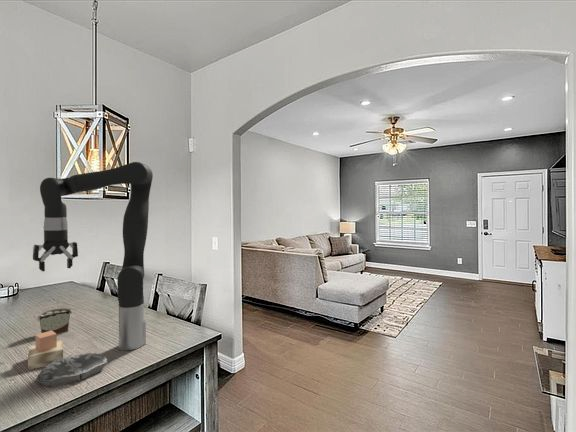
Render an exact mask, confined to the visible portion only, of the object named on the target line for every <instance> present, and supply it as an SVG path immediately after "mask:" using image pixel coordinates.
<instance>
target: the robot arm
mask: <svg viewBox="0 0 576 432" xmlns="http://www.w3.org/2000/svg"><path fill="white" fill-rule="evenodd" d="M153 177H154V175H153V171H152V169H151V168H150V166H149V165H146V163H145V164H144V163H143V162H140V161H133V162H130V163H127V164H124V165H121V166H117V167H114V168H110V169H105V170H99V171H92V172H85V173H79V174H74V175H70V177H64V178H56V177H47V178H44V179H43V180H42V181H41V183H40V185H39V192H40V196H41V200H42V204H43V207H44V212H43V213H44V221H43V244H34V245H33V247H32V260H33V261H35V262H38V269H39V270H40V271H41V272H42V273H43V272H45V270H46V269H45V268H46V267H45V266H46V264H45V263H46V259H47V258H48V257H50V256H55V255H62V254H63V255H65V256H66V257H67V258H66V268H67V269H71V267H73V260H74V259H75V258H78V256H79V251H78V243H77V242H76V241H72V242H69V241H68V238H69V237H68V233H69V232H68V227H69V226H68V218H67V217H68V216H67V215H68V213H67V211H68V210H67V204H65V203H64V202H63V201H62V197H64V196H65V197H66V196H70V195H73V194H76V193H84V192H90V191H91V192H92V191H96V190H99V189H103V188H106V187H110V186H114V185H123V184H124V185H125V184H127V185H128V184H130V196H129V200H128V203H127V206H126V208H125V211H124V215H123V220H122V242H123V247H124V248H123V250H124V253H123V254H124V256H123V260H122V261H123V262H122V267H121V270H120V272H119V273H118V275H117V280H116V281H117V301H118V349H119V350H121V351H133V350H137V349H139V348H141V347H143V346H144V345H146V343H147V339H146V338H147V330H146V329H147V322H146V320H144V319H145V318H144V317H145V309H144V307H145V305H144V303H145V298H144V278H145V264H144V261H145V260H144V259H145V258H144V252H145V248H146V241H147V236H148V227H149V209H150V207H149V206H150V205H149V204H150V194H151V193H150V192H151V189H152V183H153ZM69 247H70V248H71V249H72V254H71V253H70V252H69V251H68V250H67V249H68V248H69ZM42 249H43V250H45V251H44V252H43V253H42V255H40V252H39V251H41V250H42ZM39 255H40V256H39Z"/></svg>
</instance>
